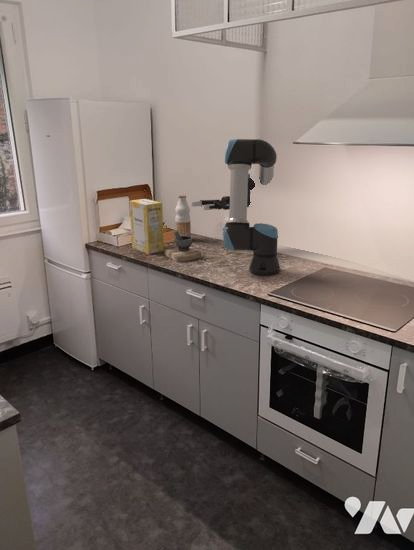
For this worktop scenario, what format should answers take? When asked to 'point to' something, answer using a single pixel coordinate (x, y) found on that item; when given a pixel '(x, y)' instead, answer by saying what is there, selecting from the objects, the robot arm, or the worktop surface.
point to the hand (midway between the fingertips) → (197, 206)
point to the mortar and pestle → (183, 242)
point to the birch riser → (182, 254)
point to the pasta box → (146, 225)
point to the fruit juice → (183, 217)
